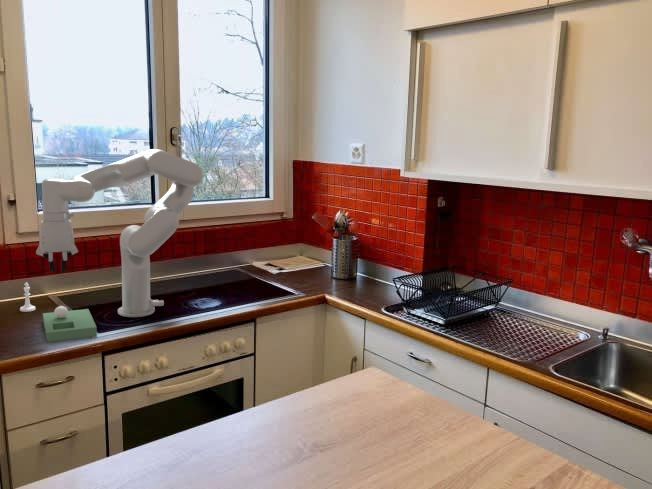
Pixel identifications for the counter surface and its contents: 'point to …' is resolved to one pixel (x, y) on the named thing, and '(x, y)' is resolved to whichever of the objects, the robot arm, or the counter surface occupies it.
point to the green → (69, 326)
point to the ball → (61, 312)
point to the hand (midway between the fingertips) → (58, 271)
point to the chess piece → (27, 300)
